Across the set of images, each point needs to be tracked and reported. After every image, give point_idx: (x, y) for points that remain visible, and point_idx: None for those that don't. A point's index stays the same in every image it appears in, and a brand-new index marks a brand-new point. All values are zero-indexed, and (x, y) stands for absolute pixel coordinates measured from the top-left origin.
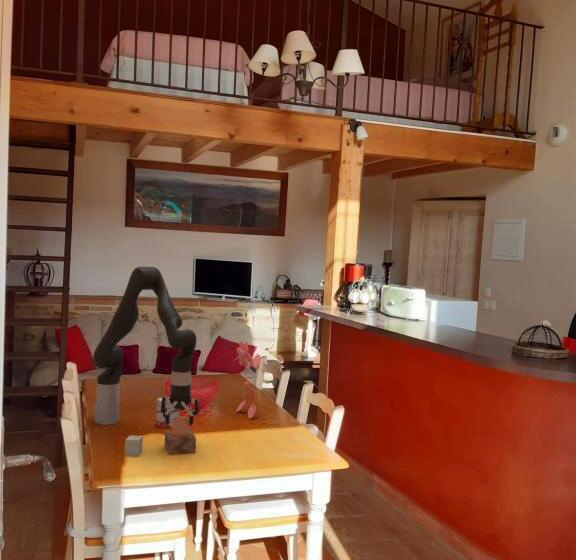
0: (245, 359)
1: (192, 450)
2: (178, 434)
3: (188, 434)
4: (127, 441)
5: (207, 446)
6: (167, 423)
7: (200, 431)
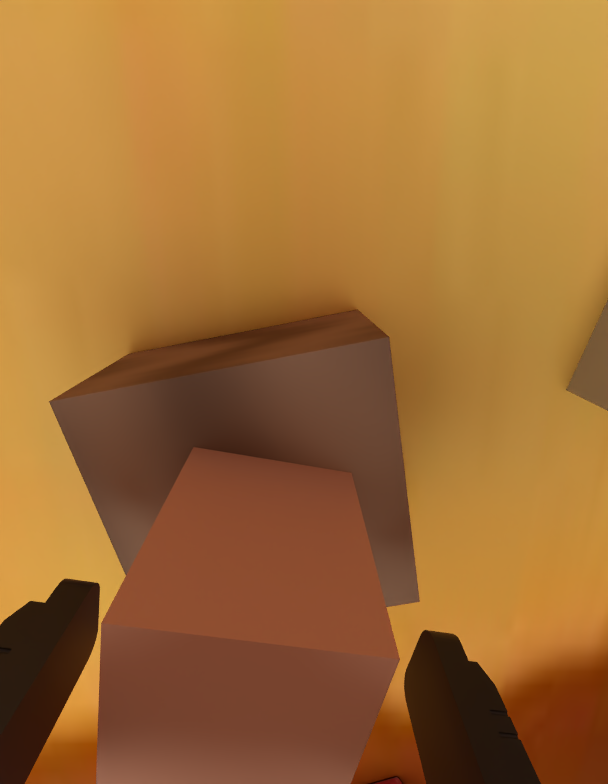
0: None
1: (146, 353)
2: (273, 471)
3: None
4: None
5: (53, 494)
6: (449, 639)
7: None
